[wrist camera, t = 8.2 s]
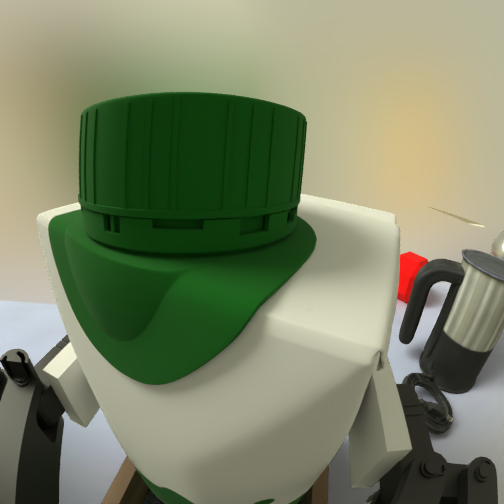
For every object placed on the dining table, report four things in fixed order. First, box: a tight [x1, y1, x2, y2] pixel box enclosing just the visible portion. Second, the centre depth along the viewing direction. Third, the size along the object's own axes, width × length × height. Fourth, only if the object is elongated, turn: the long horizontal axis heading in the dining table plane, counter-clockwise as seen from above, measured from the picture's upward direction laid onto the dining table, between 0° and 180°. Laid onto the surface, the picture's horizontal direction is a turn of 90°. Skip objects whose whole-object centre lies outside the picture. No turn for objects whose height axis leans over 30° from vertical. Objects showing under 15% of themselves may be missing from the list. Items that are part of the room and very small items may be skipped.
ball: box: [397, 252, 428, 303], centre depth 44 cm, size 8×8×8 cm
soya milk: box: [37, 92, 400, 504], centre depth 10 cm, size 9×9×20 cm
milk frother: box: [399, 249, 504, 434], centre depth 21 cm, size 14×16×15 cm
